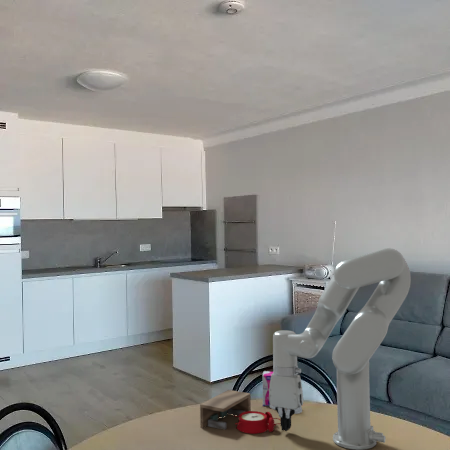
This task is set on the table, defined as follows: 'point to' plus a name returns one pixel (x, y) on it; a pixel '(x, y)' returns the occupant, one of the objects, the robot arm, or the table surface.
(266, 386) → the supplement box
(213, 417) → the overhang shelf
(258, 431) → the alarm clock
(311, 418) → the table surface
